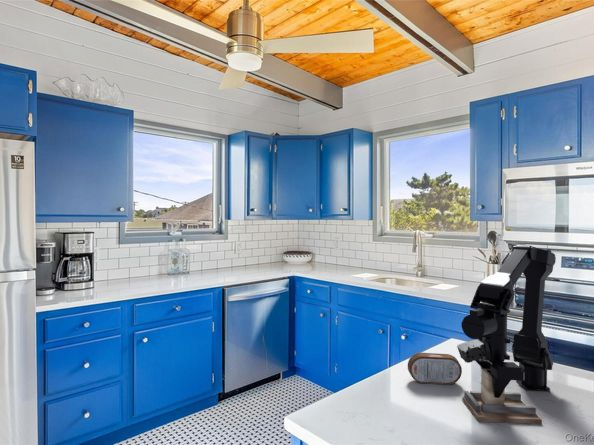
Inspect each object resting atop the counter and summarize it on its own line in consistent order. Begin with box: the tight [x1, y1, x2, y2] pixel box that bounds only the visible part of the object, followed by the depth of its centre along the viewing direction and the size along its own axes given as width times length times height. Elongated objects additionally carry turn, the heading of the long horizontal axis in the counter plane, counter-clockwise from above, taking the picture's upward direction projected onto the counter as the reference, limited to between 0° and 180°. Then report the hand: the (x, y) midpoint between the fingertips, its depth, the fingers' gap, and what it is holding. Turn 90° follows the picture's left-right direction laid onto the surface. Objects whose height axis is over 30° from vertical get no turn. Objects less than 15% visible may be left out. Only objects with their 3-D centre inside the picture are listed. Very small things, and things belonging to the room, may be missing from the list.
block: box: [480, 368, 506, 405], centre depth 97 cm, size 4×4×8 cm
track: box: [461, 390, 543, 425], centre depth 96 cm, size 14×10×2 cm
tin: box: [407, 352, 463, 385], centre depth 113 cm, size 15×3×8 cm, turn 84°
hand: (492, 393), depth 97 cm, fingers closed on block, 4 cm apart
